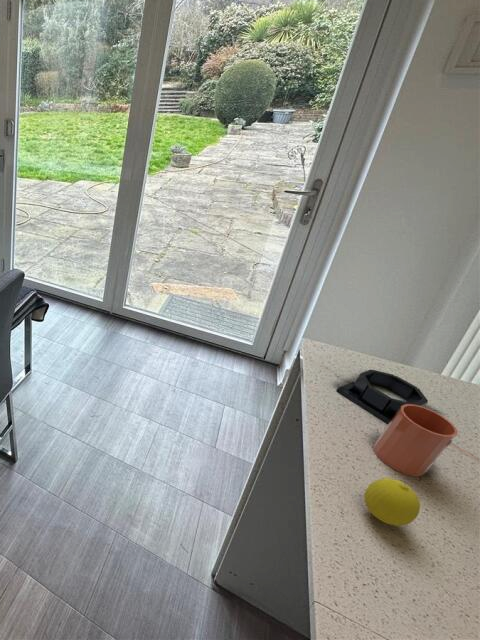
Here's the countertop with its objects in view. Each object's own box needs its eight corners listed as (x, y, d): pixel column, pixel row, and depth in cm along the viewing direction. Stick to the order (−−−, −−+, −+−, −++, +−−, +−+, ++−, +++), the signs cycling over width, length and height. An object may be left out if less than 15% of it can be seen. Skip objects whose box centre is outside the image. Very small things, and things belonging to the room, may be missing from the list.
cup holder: (367, 378, 91) (377, 363, 89) (431, 415, 82) (443, 399, 80) (336, 390, 87) (345, 375, 85) (399, 431, 78) (411, 414, 76)
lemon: (368, 531, 62) (395, 498, 58) (347, 496, 66) (371, 464, 63) (412, 541, 60) (441, 508, 57) (387, 504, 65) (413, 472, 62)
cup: (386, 438, 77) (414, 400, 72) (433, 469, 71) (466, 429, 66) (364, 449, 74) (392, 410, 70) (410, 481, 69) (443, 441, 64)
